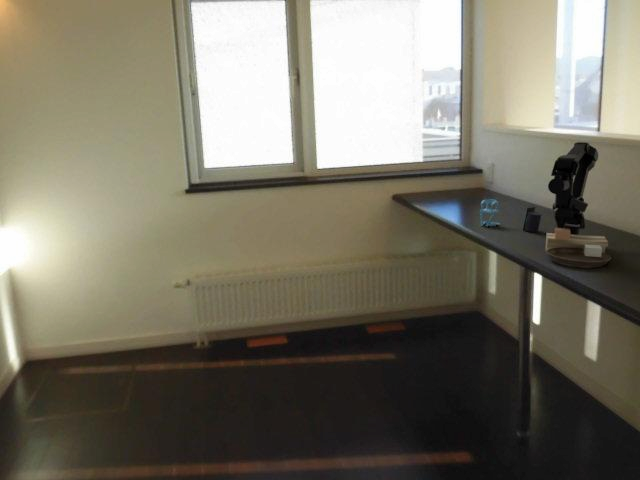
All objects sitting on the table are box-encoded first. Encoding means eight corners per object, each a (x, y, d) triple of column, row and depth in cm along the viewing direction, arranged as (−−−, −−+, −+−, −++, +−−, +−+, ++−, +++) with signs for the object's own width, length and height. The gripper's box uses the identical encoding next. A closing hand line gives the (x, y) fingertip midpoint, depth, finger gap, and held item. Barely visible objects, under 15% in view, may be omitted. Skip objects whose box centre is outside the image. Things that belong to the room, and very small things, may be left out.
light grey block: (586, 247, 203) (585, 255, 204) (602, 248, 201) (601, 257, 202) (584, 244, 208) (583, 252, 208) (600, 245, 206) (599, 253, 207)
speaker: (518, 229, 262) (523, 206, 259) (530, 229, 264) (534, 206, 261) (529, 234, 256) (533, 211, 252) (540, 234, 257) (545, 210, 254)
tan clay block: (554, 235, 221) (554, 227, 221) (568, 236, 220) (569, 228, 219) (555, 238, 217) (555, 230, 216) (569, 239, 215) (570, 231, 214)
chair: (476, 225, 272) (477, 199, 270) (484, 223, 278) (486, 197, 276) (491, 227, 267) (493, 201, 264) (500, 225, 273) (501, 199, 270)
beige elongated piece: (545, 248, 228) (546, 232, 226) (602, 251, 221) (604, 236, 220) (546, 254, 217) (547, 238, 216) (606, 258, 211) (608, 242, 210)
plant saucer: (592, 255, 218) (593, 246, 217) (621, 270, 198) (622, 260, 197) (537, 255, 218) (537, 246, 217) (560, 270, 198) (561, 261, 197)
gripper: (590, 195, 211) (586, 238, 214) (585, 188, 228) (581, 228, 231) (556, 194, 214) (553, 236, 217) (553, 187, 231) (550, 227, 235)
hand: (560, 232), depth 225 cm, fingers closed
